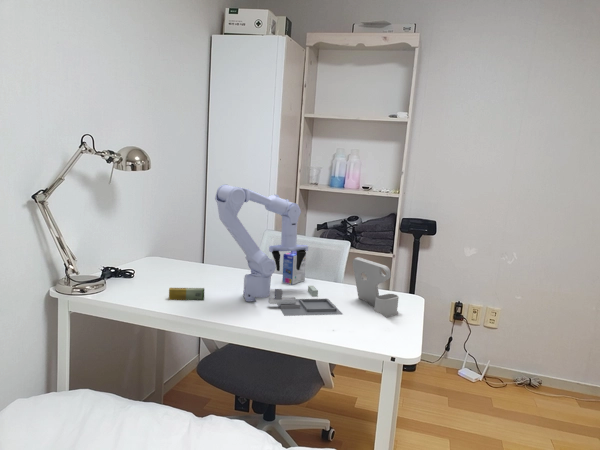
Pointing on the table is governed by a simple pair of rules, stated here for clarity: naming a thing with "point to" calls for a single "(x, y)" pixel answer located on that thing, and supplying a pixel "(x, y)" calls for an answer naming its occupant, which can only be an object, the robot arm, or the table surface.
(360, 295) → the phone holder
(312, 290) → the cover
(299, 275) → the ink cartridge box
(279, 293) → the brushed metal bar
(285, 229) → the robot arm
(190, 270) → the table surface
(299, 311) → the panel
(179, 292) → the medication box
